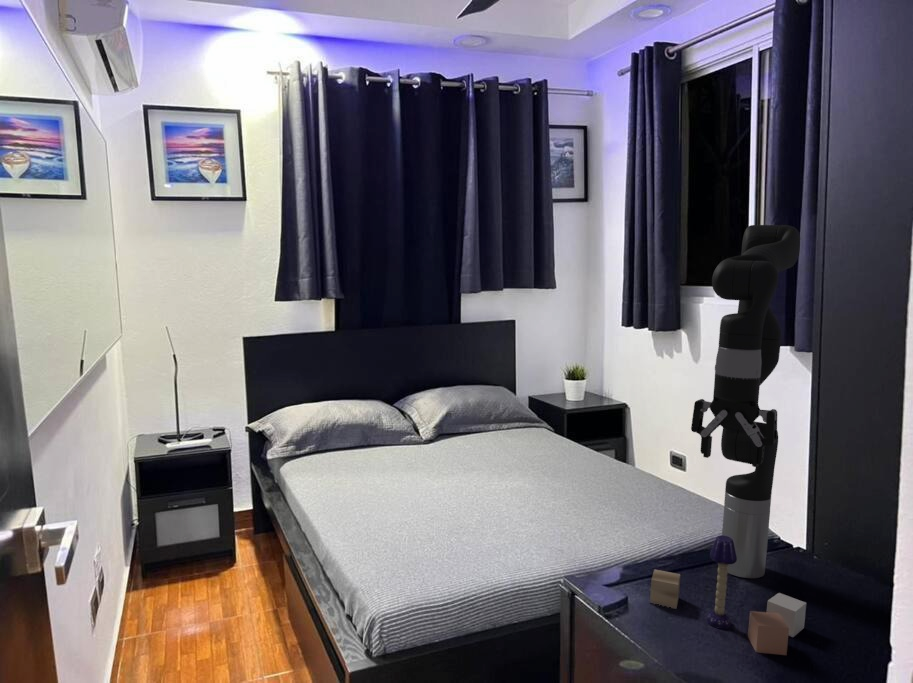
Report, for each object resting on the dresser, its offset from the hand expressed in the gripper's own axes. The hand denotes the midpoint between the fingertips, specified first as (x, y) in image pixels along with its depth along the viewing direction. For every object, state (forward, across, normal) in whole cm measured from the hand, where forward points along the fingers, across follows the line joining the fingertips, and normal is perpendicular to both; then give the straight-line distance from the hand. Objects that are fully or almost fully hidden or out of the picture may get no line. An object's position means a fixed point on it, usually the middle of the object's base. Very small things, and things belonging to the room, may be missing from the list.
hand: (730, 461), depth 124 cm
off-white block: (+31, -10, -7) cm, 34 cm away
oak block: (+31, +11, -2) cm, 33 cm away
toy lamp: (+31, 0, 0) cm, 31 cm away
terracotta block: (+31, -9, +2) cm, 33 cm away
